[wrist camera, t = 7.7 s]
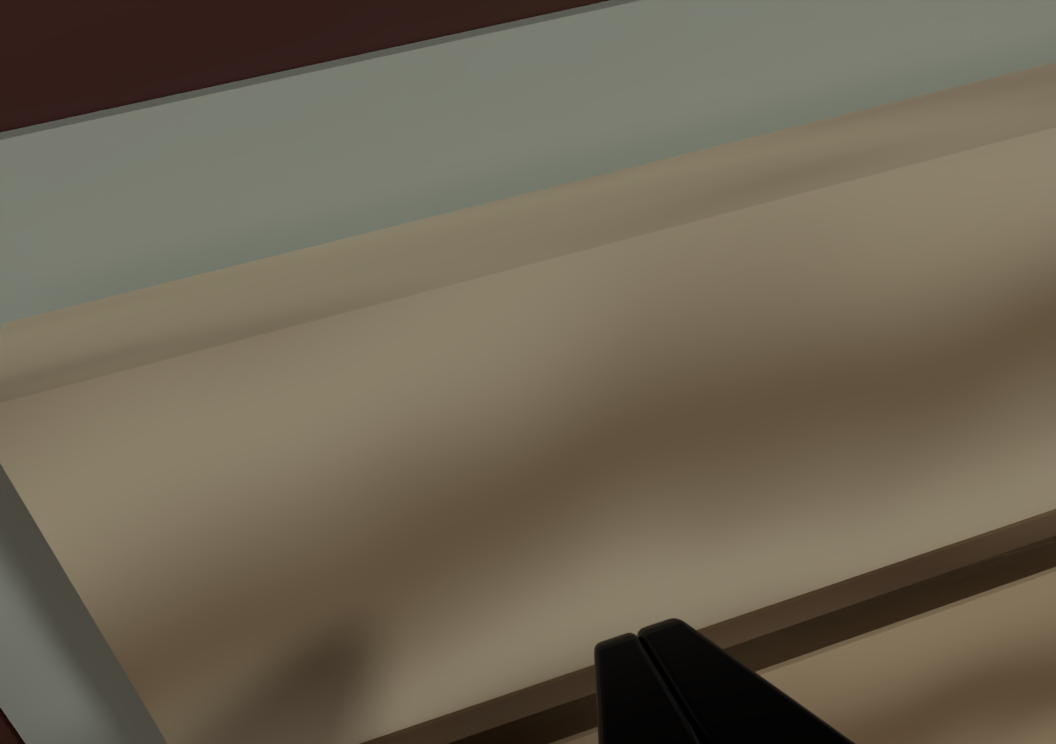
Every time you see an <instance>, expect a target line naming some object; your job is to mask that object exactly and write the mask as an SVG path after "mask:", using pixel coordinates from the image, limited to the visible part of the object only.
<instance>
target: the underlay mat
mask: <svg viewBox="0 0 1056 744" xmlns="http://www.w3.org/2000/svg"><path fill="white" fill-rule="evenodd" d="M1054 62H1056V0H610V1H605V2H601V3H596V4H591V5H587V6H582V7H578V8H573V9H568V10H564V11H559V12H555V13H550V14H545V15H541V16H536V17H532V18H527V19H522V20H518V21H513V22H508V23H504V24H499V25H495V26H490V27H485V28H481V29H476V30H472V31H467V32H462V33H458V34H453V35H448V36H444V37H439V38H435V39H430V40H425V41H421V42H416V43H412V44H407V45H402V46H398V47H393V48H389V49H384V50H379V51H375V52H370V53H365V54H361V55H356V56H352V57H347V58H342V59H338V60H333V61H329V62H324V63H319V64H315V65H310V66H306V67H301V68H296V69H292V70H287V71H282V72H278V73H273V74H269V75H264V76H259V77H255V78H250V79H246V80H241V81H236V82H232V83H227V84H222V85H218V86H213V87H209V88H204V89H199V90H195V91H190V92H186V93H181V94H176V95H172V96H167V97H163V98H158V99H153V100H149V101H144V102H139V103H135V104H130V105H126V106H121V107H116V108H112V109H107V110H103V111H98V112H93V113H89V114H84V115H79V116H75V117H70V118H66V119H61V120H56V121H52V122H47V123H43V124H38V125H33V126H29V127H24V128H20V129H15V130H10V131H6V132H1V133H0V329H1V327H2V324H3V323H7V322H11V321H15V320H19V319H23V318H27V317H31V316H35V315H39V314H43V313H47V312H51V311H55V310H59V309H63V308H67V307H71V306H75V305H79V304H83V303H87V302H91V301H95V300H99V299H103V298H107V297H111V296H115V295H119V294H123V293H127V292H131V291H135V290H140V289H144V288H148V287H152V286H156V285H160V284H164V283H168V282H172V281H176V280H180V279H184V278H188V277H192V276H196V275H200V274H204V273H208V272H212V271H216V270H220V269H224V268H228V267H232V266H236V265H240V264H244V263H248V262H252V261H256V260H260V259H264V258H268V257H272V256H276V255H280V254H284V253H289V252H293V251H297V250H301V249H305V248H309V247H313V246H317V245H321V244H325V243H329V242H333V241H337V240H341V239H345V238H349V237H353V236H357V235H361V234H365V233H369V232H373V231H377V230H381V229H385V228H389V227H393V226H397V225H401V224H405V223H409V222H413V221H417V220H421V219H425V218H429V217H433V216H438V215H442V214H446V213H450V212H454V211H458V210H462V209H466V208H470V207H474V206H478V205H482V204H486V203H490V202H494V201H498V200H502V199H506V198H510V197H514V196H518V195H522V194H526V193H530V192H534V191H538V190H542V189H546V188H550V187H554V186H558V185H562V184H566V183H570V182H574V181H578V180H582V179H587V178H591V177H595V176H599V175H603V174H607V173H611V172H615V171H619V170H623V169H627V168H631V167H635V166H639V165H643V164H647V163H651V162H655V161H659V160H663V159H667V158H671V157H675V156H679V155H683V154H687V153H691V152H695V151H699V150H703V149H707V148H711V147H715V146H719V145H723V144H727V143H731V142H735V141H740V140H744V139H748V138H752V137H756V136H760V135H764V134H768V133H772V132H776V131H780V130H784V129H788V128H792V127H796V126H800V125H804V124H808V123H812V122H816V121H820V120H824V119H828V118H832V117H836V116H840V115H844V114H848V113H852V112H856V111H860V110H864V109H868V108H872V107H876V106H880V105H884V104H889V103H893V102H897V101H901V100H905V99H909V98H913V97H917V96H921V95H925V94H929V93H933V92H937V91H941V90H945V89H949V88H953V87H957V86H961V85H965V84H969V83H973V82H977V81H981V80H985V79H989V78H993V77H997V76H1001V75H1005V74H1009V73H1013V72H1017V71H1021V70H1025V69H1029V68H1033V67H1038V66H1042V65H1046V64H1050V63H1054ZM0 708H1V709H2V710H3V712H4V713H5V715H6V716H7V718H8V719H9V721H10V722H11V723H12V725H13V726H14V728H15V729H16V731H17V732H18V734H19V735H20V736H21V738H22V739H23V741H24V742H25V744H167V742H166V740H165V739H164V737H163V735H162V734H161V732H160V730H159V729H158V727H157V725H156V724H155V722H154V720H153V719H152V717H151V715H150V713H149V712H148V710H147V708H146V707H145V705H144V703H143V702H142V700H141V698H140V697H139V695H138V693H137V692H136V690H135V688H134V687H133V685H132V683H131V682H130V680H129V678H128V677H127V675H126V673H125V672H124V670H123V668H122V667H121V665H120V663H119V662H118V660H117V658H116V657H115V655H114V653H113V651H112V650H111V648H110V646H109V645H108V643H107V641H106V640H105V638H104V636H103V635H102V633H101V631H100V630H99V628H98V626H97V625H96V623H95V621H94V620H93V618H92V616H91V615H90V613H89V611H88V610H87V608H86V606H85V605H84V603H83V601H82V600H81V598H80V596H79V595H78V593H77V591H76V589H75V588H74V586H73V584H72V583H71V581H70V579H69V578H68V576H67V574H66V573H65V571H64V569H63V568H62V566H61V564H60V563H59V561H58V559H57V558H56V556H55V554H54V553H53V551H52V549H51V548H50V546H49V544H48V543H47V541H46V539H45V538H44V536H43V534H42V533H41V531H40V529H39V527H38V526H37V524H36V522H35V521H34V519H33V517H32V516H31V514H30V512H29V511H28V509H27V507H26V506H25V504H24V502H23V501H22V499H21V497H20V496H19V494H18V492H17V491H16V489H15V487H14V486H13V484H12V482H11V481H10V479H9V477H8V476H7V474H6V472H5V470H4V469H3V467H2V465H1V464H0Z"/></svg>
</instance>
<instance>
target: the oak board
mask: <svg viewBox="0 0 1056 744" xmlns="http://www.w3.org/2000/svg"><path fill="white" fill-rule="evenodd" d="M723 650H725V651H726V652H728V653H729V654H731V655H732V656H733V657H735V658H736V659H738V660H739V661H740V662H742V663H743V664H745V665H746V666H747V667H749V668H750V669H752V670H753V671H754V672H756V673H757V674H759V675H760V676H761V677H763V678H764V679H766V680H767V681H768V682H770V683H771V684H773V685H774V686H775V687H777V688H778V689H780V690H781V691H782V692H784V693H785V694H787V695H788V696H790V697H791V698H792V699H794V700H795V701H797V702H798V703H799V704H801V705H802V706H804V707H805V708H806V709H808V710H809V711H811V712H812V713H813V714H815V715H816V716H818V717H819V718H820V719H822V720H823V721H825V722H826V723H827V724H829V725H830V726H832V727H833V728H834V729H836V730H837V731H839V732H840V733H841V734H843V735H844V736H846V737H847V738H849V739H850V740H851V741H853V742H854V743H856V744H1056V535H1055V536H1052V537H1049V538H1046V539H1043V540H1040V541H1037V542H1034V543H1031V544H1028V545H1025V546H1022V547H1020V548H1017V549H1014V550H1011V551H1008V552H1005V553H1002V554H999V555H996V556H993V557H990V558H987V559H985V560H982V561H979V562H976V563H973V564H970V565H967V566H964V567H961V568H958V569H955V570H952V571H949V572H947V573H944V574H941V575H938V576H935V577H932V578H929V579H926V580H923V581H920V582H917V583H914V584H912V585H909V586H906V587H903V588H900V589H897V590H894V591H891V592H888V593H885V594H882V595H879V596H877V597H874V598H871V599H868V600H865V601H862V602H859V603H856V604H853V605H850V606H847V607H844V608H841V609H839V610H836V611H833V612H830V613H827V614H824V615H821V616H818V617H815V618H812V619H809V620H806V621H804V622H801V623H798V624H795V625H792V626H789V627H786V628H783V629H780V630H777V631H774V632H771V633H769V634H766V635H763V636H760V637H757V638H754V639H751V640H748V641H745V642H742V643H739V644H736V645H734V646H731V647H728V648H725V649H723ZM448 744H599V743H598V723H597V704H596V693H593V694H591V695H588V696H585V697H582V698H579V699H576V700H573V701H570V702H567V703H564V704H561V705H558V706H555V707H553V708H550V709H547V710H544V711H541V712H538V713H535V714H532V715H529V716H526V717H523V718H520V719H518V720H515V721H512V722H509V723H506V724H503V725H500V726H497V727H494V728H491V729H488V730H485V731H483V732H480V733H477V734H474V735H471V736H468V737H465V738H462V739H459V740H456V741H453V742H450V743H448Z"/></svg>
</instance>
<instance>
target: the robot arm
mask: <svg viewBox="0 0 1056 744" xmlns="http://www.w3.org/2000/svg"><path fill="white" fill-rule="evenodd" d="M594 665H595V685H596V704H597V723H598V743H599V744H856V743H854V742H853V741H851V740H850V739H849V738H847V737H846V736H844V735H843V734H841V733H840V732H839V731H837V730H836V729H834V728H833V727H832V726H830V725H829V724H827V723H826V722H825V721H823V720H822V719H820V718H819V717H818V716H816V715H815V714H813V713H812V712H811V711H809V710H808V709H806V708H805V707H804V706H802V705H801V704H799V703H798V702H797V701H795V700H794V699H792V698H791V697H790V696H788V695H787V694H785V693H784V692H782V691H781V690H780V689H778V688H777V687H775V686H774V685H773V684H771V683H770V682H768V681H767V680H766V679H764V678H763V677H761V676H760V675H759V674H757V673H756V672H754V671H753V670H752V669H750V668H749V667H747V666H746V665H745V664H743V663H742V662H740V661H739V660H738V659H736V658H735V657H733V656H732V655H731V654H729V653H728V652H726V651H725V650H723V649H722V648H721V647H719V646H718V645H716V644H715V643H714V642H712V641H711V640H709V639H708V638H707V637H705V636H704V635H702V634H701V633H700V632H698V631H697V630H695V629H694V628H693V627H691V626H690V625H688V624H687V623H686V622H684V621H682V620H680V619H676V618H671V619H667V620H664V621H661V622H658V623H655V624H652V625H649V626H646V627H643V628H641V629H640V630H639V631H638V632H637V636H636V635H635V634H634V633H625V634H622V635H619V636H616V637H613V638H610V639H607V640H604V641H601V642H599V643H597V644H596V645H595V648H594Z"/></svg>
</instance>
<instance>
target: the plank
mask: <svg viewBox="0 0 1056 744" xmlns="http://www.w3.org/2000/svg"><path fill="white" fill-rule="evenodd" d="M0 464H1V465H2V467H3V469H4V470H5V472H6V474H7V476H8V477H9V479H10V481H11V482H12V484H13V486H14V487H15V489H16V491H17V492H18V494H19V496H20V497H21V499H22V501H23V502H24V504H25V506H26V507H27V509H28V511H29V512H30V514H31V516H32V517H33V519H34V521H35V522H36V524H37V526H38V527H39V529H40V531H41V533H42V534H43V536H44V538H45V539H46V541H47V543H48V544H49V546H50V548H51V549H52V551H53V553H54V554H55V556H56V558H57V559H58V561H59V563H60V564H61V566H62V568H63V569H64V571H65V573H66V574H67V576H68V578H69V579H70V581H71V583H72V584H73V586H74V588H75V589H76V591H77V593H78V595H79V596H80V598H81V600H82V601H83V603H84V605H85V606H86V608H87V610H88V611H89V613H90V615H91V616H92V618H93V620H94V621H95V623H96V625H97V626H98V628H99V630H100V631H101V633H102V635H103V636H104V638H105V640H106V641H107V643H108V645H109V646H110V648H111V650H112V651H113V653H114V655H115V657H116V658H117V660H118V662H119V663H120V665H121V667H122V668H123V670H124V672H125V673H126V675H127V677H128V678H129V680H130V682H131V683H132V685H133V687H134V688H135V690H136V692H137V693H138V695H139V697H140V698H141V700H142V702H143V703H144V705H145V707H146V708H147V710H148V712H149V713H150V715H151V717H152V719H153V720H154V722H155V724H156V725H157V727H158V729H159V730H160V732H161V734H162V735H163V737H164V739H165V740H166V742H167V744H448V743H450V742H453V741H456V740H459V739H462V738H465V737H468V736H471V735H474V734H477V733H480V732H483V731H485V730H488V729H491V728H494V727H497V726H500V725H503V724H506V723H509V722H512V721H515V720H518V719H520V718H523V717H526V716H529V715H532V714H535V713H538V712H541V711H544V710H547V709H550V708H553V707H555V706H558V705H561V704H564V703H567V702H570V701H573V700H576V699H579V698H582V697H585V696H588V695H591V694H593V693H596V685H595V665H594V648H595V645H596V644H597V643H599V642H601V641H604V640H607V639H610V638H613V637H616V636H619V635H622V634H625V633H634V634H635V635H636V636H637V632H638V631H639V630H640V629H641V628H643V627H646V626H649V625H652V624H655V623H658V622H661V621H664V620H667V619H671V618H676V619H680V620H682V621H684V622H686V623H687V624H688V625H690V626H691V627H693V628H694V629H695V630H697V631H698V632H700V633H701V634H702V635H704V636H705V637H707V638H708V639H709V640H711V641H712V642H714V643H715V644H716V645H718V646H719V647H721V648H722V649H725V648H728V647H731V646H734V645H736V644H739V643H742V642H745V641H748V640H751V639H754V638H757V637H760V636H763V635H766V634H769V633H771V632H774V631H777V630H780V629H783V628H786V627H789V626H792V625H795V624H798V623H801V622H804V621H806V620H809V619H812V618H815V617H818V616H821V615H824V614H827V613H830V612H833V611H836V610H839V609H841V608H844V607H847V606H850V605H853V604H856V603H859V602H862V601H865V600H868V599H871V598H874V597H877V596H879V595H882V594H885V593H888V592H891V591H894V590H897V589H900V588H903V587H906V586H909V585H912V584H914V583H917V582H920V581H923V580H926V579H929V578H932V577H935V576H938V575H941V574H944V573H947V572H949V571H952V570H955V569H958V568H961V567H964V566H967V565H970V564H973V563H976V562H979V561H982V560H985V559H987V558H990V557H993V556H996V555H999V554H1002V553H1005V552H1008V551H1011V550H1014V549H1017V548H1020V547H1022V546H1025V545H1028V544H1031V543H1034V542H1037V541H1040V540H1043V539H1046V538H1049V537H1052V536H1055V535H1056V62H1054V63H1050V64H1046V65H1042V66H1038V67H1033V68H1029V69H1025V70H1021V71H1017V72H1013V73H1009V74H1005V75H1001V76H997V77H993V78H989V79H985V80H981V81H977V82H973V83H969V84H965V85H961V86H957V87H953V88H949V89H945V90H941V91H937V92H933V93H929V94H925V95H921V96H917V97H913V98H909V99H905V100H901V101H897V102H893V103H889V104H884V105H880V106H876V107H872V108H868V109H864V110H860V111H856V112H852V113H848V114H844V115H840V116H836V117H832V118H828V119H824V120H820V121H816V122H812V123H808V124H804V125H800V126H796V127H792V128H788V129H784V130H780V131H776V132H772V133H768V134H764V135H760V136H756V137H752V138H748V139H744V140H740V141H735V142H731V143H727V144H723V145H719V146H715V147H711V148H707V149H703V150H699V151H695V152H691V153H687V154H683V155H679V156H675V157H671V158H667V159H663V160H659V161H655V162H651V163H647V164H643V165H639V166H635V167H631V168H627V169H623V170H619V171H615V172H611V173H607V174H603V175H599V176H595V177H591V178H587V179H582V180H578V181H574V182H570V183H566V184H562V185H558V186H554V187H550V188H546V189H542V190H538V191H534V192H530V193H526V194H522V195H518V196H514V197H510V198H506V199H502V200H498V201H494V202H490V203H486V204H482V205H478V206H474V207H470V208H466V209H462V210H458V211H454V212H450V213H446V214H442V215H438V216H433V217H429V218H425V219H421V220H417V221H413V222H409V223H405V224H401V225H397V226H393V227H389V228H385V229H381V230H377V231H373V232H369V233H365V234H361V235H357V236H353V237H349V238H345V239H341V240H337V241H333V242H329V243H325V244H321V245H317V246H313V247H309V248H305V249H301V250H297V251H293V252H289V253H284V254H280V255H276V256H272V257H268V258H264V259H260V260H256V261H252V262H248V263H244V264H240V265H236V266H232V267H228V268H224V269H220V270H216V271H212V272H208V273H204V274H200V275H196V276H192V277H188V278H184V279H180V280H176V281H172V282H168V283H164V284H160V285H156V286H152V287H148V288H144V289H140V290H135V291H131V292H127V293H123V294H119V295H115V296H111V297H107V298H103V299H99V300H95V301H91V302H87V303H83V304H79V305H75V306H71V307H67V308H63V309H59V310H55V311H51V312H47V313H43V314H39V315H35V316H31V317H27V318H23V319H19V320H15V321H11V322H7V323H3V324H2V327H1V329H0Z"/></svg>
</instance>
